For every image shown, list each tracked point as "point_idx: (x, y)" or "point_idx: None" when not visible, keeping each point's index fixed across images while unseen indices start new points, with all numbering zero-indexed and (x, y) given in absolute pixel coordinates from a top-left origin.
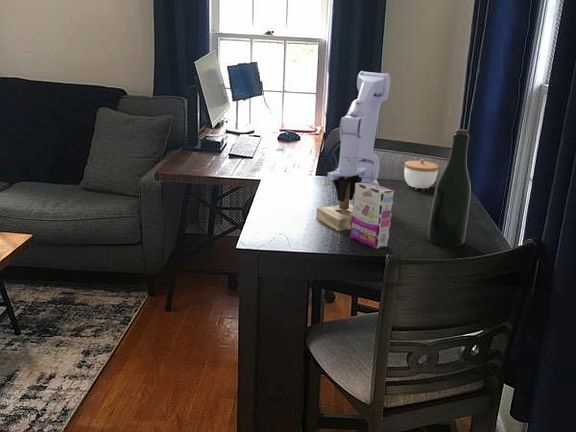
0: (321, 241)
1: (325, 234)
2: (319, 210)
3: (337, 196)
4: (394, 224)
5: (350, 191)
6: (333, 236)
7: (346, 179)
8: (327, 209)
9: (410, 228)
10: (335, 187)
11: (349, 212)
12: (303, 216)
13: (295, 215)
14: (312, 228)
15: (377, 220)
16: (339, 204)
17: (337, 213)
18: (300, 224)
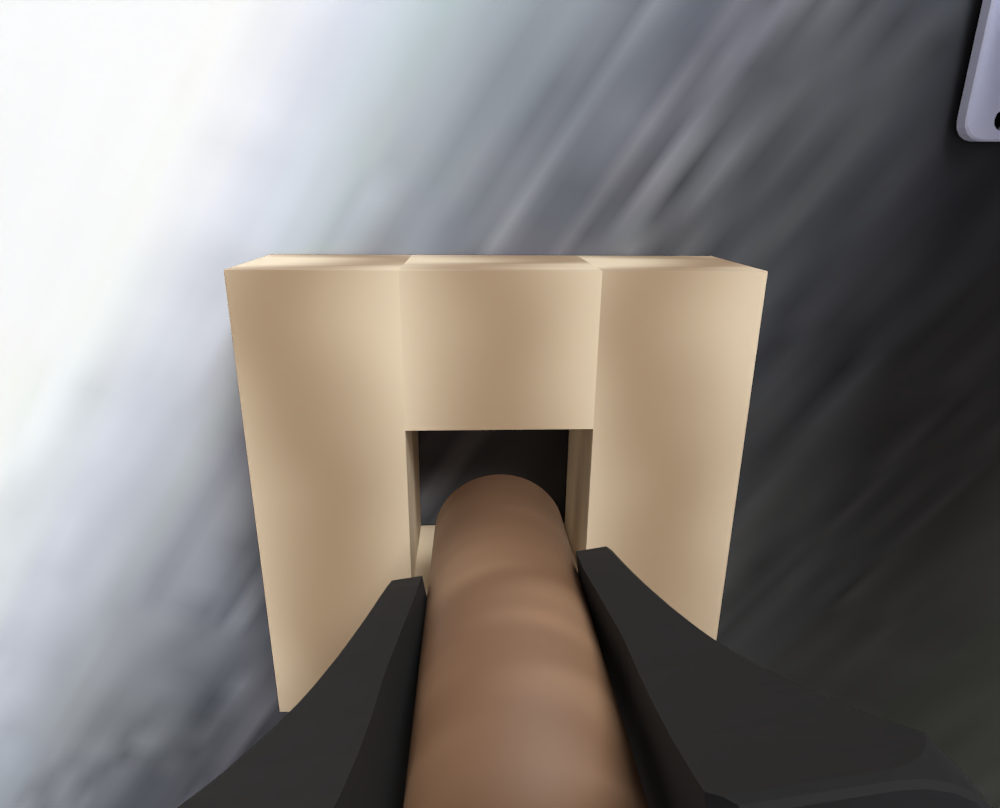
0: (44, 773)
1: (151, 663)
2: (237, 334)
3: (371, 615)
4: (911, 639)
5: (622, 712)
6: (200, 717)
7: (680, 794)
8: (340, 377)
9: (944, 745)
10: (275, 733)
11: (584, 499)
12: (154, 116)
13: (61, 37)
14: (93, 505)
15: None
16: (434, 540)
17: (381, 544)
18: (6, 364)
